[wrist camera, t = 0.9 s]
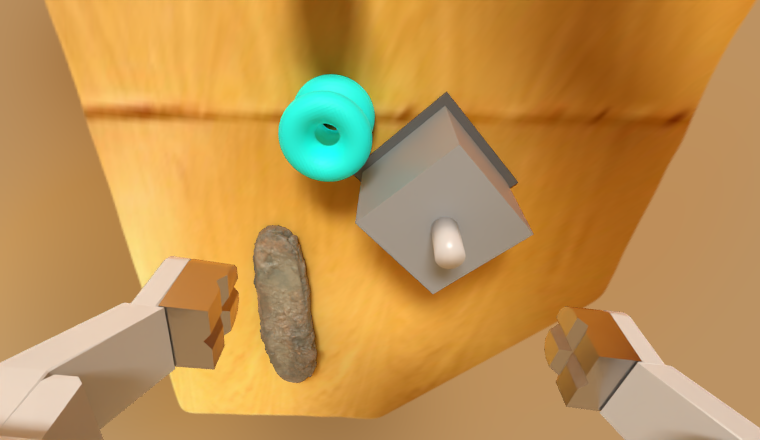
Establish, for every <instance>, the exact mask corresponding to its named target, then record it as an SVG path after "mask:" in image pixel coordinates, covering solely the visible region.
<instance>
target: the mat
mask: <svg viewBox="0 0 760 440" xmlns="http://www.w3.org/2000/svg"><path fill="white" fill-rule="evenodd" d="M444 106H446V107H447V108H448V110H449V111H450V112H451V113H452V115H453V116H454V117H455V118H456V120H457V121H458V122H459V123H460V125H461V126H462V127H463V128H464V130H465V131H466V132H467V133H468V135H469V136H470V137H471V138H472V140H473V141H474V142H475V143H476V145H477V146H478V147H479V148H480V150H481V151H482V152H483V153H484V154H485V156H486V157H487V158H488V159H489V161H490V162H491V163H492V164H493V166H494V167H495V168H496V169H497V171H498V172H499V173H500V174H501V176H502V177H503V178H504V179H505V181H506V182H507V184H508V186H509V188H510V187H512V186H513V185H515V184H517V183H518V182H517V180H516V179H515V178H514V177H513V175H512V174H511V173H510V171H509V170H508V169H507V168H506V166H505V165H504V164H503V163H502V161H501V160H500V159H499V158H498V156H497V155H496V154H495V152H494V151H493V150H492V149H491V147H490V146H489V145H488V144H487V142H486V141H485V140H484V138H483V137H482V136H481V135H480V133H479V132H478V131H477V130H476V128H475V127H474V126H473V124H472V123H471V122H470V121H469V119H468V118H467V117H466V116H465V114H464V113H463V112H462V110H461V109H460V108H459V107H458V105H457V104H456V103H455V102H454V100H453V99H452V98H451V96H450V95H449V94H448V93H447V92H446V93H444V94H443V95H442V96H441V97H440V98H438V99H437V100H436V101H435V102H434V103H432V104H431V105H430V106H429V107H428V108H426V109H425V110H424V111H423V112H421V113H420V114H419V115H418V116H417V117H415V118H414V119H413V120H412V121H411V122H409V123H408V124H407V125H406V126H405V127H403V128H402V129H401V130H400V131H399V132H397V133H396V134H395V135H394V136H392V137H391V138H390V139H389V140H388V141H386V142H385V143H384V144H383V145H382V146H380V147H379V148H378V149H377V150H376V151H374V152H373V153H372V154H371V155H369V157H368V159H367V161H366V162H365V164H364V165H363V166H362V168H361V169H360V170H359V171H357V172H356V173H355V174H353V175H354V176H355V177H356V178H357V179H359V180H360V181H361V179H362V173H363V172H364V171H365V170H366V169H368V168H369V167H370V166H371V165H373V164H374V163H375V162H376V161H377V160H379V159H380V158H381V157H382V156H384V155H385V154H386V153H387V152H389V151H390V150H391V149H392V148H393V147H395V146H396V145H397V144H398V143H400V142H401V141H402V140H403V139H405V138H406V137H407V136H408V135H409V134H411V133H412V132H413V131H414V130H416V129H417V128H418V127H419V126H421V125H422V124H423V123H424V122H425V121H427V120H428V119H429V118H430V117H432V116H433V115H434V114H435V113H437V112H438V111H439V110H440V109H441V108H443V107H444Z"/></svg>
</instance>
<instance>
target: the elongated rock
mask: <svg viewBox="0 0 760 440" xmlns="http://www.w3.org/2000/svg"><path fill="white" fill-rule="evenodd" d="M300 247H301V245H300V244H299V243H298V237H297V236H296V235H293V234H292V232H291V231H289V230H288V229H286V228H285V227H281V226H274V225H271V226H267V227H266V228H264V229H263V230H262V231H261V232H259V235H258V238H257V240H256V243H255V249H254V255H253V262H254V270H255V279H254V285H255V288H256V290H257V294H258V307H259V308H258V312H259V315H260V320H261V323H260V325H261V330H260V332H261V339H262V341H263V342H264V344H265V350H266V353H267V354H268V355H269V358H270V363H272V364H273V367H274V369H275V371H276V372H277V374H278V375H279V376H280V377H281V378H282V379H284V380H286V381H288V382H293V383H295V382H296V383H299V382H302V381H304V380H305V379H306V378H307V377H311V376H312V374H313V372H314V370H315V367H316V364H317V362H316V356H317V350H316V345H315V340H314V338H315V335H314V330H313V328H312V327H313V322H312V316H311V311H310V298H309V295H310V288H309V284H308V278H307V276H306V266H305V259H303V255H302V252H301V248H300Z"/></svg>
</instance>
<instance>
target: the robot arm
mask: <svg viewBox="0 0 760 440" xmlns="http://www.w3.org/2000/svg"><path fill="white" fill-rule="evenodd" d="M237 279H238V274H237V267H236V266H235V265H231V264H225V263H218V262H211V261H204V260H197V259H188V258H181V257H174V256H170V257H168V258H166V259H165V260H164V261H163V263H162V264H161V265H160V267H159V268H158V269H157V270H156V272H155V273H154V274H153V275H152V277H151V278H150V279H149V281H148V282H147V283H146V284H145V286H144V287H143V288H142V290H141V291H140V292H139V293H138V295H137V296H136V297H135V299H134V300H133V301H132V302H131V304H130V303H122V304H120V305H118V306H116V307H114V308H112V309H110V310H108V311H106V312H104V313H102V314H100V315H98V316H96V317H94V318H91V319H90V320H87V321H85V322H83V323H81V324H79V325H77V326H75V327H73V328H71V329H69V330H67V331H65V332H63V333H60V334H58V335H56V336H54V337H52V338H50V339H48V340H46V341H44V342H42V343H40V344H38V345H36V346H34V347H32V348H30V349H28V350H25V351H23V352H22V353H19V354H17V355H15V356H13V357H11V358H9V359H7V360H5V361H3V362H1V363H0V440H103V437H102V434H101V432H100V429H101V428H102V427H104V426H105V425H106V424H107V423H108V422H110V421H111V420H112V419H113V418H115V417H116V416H117V415H118V414H119V413H121V412H122V411H123V410H125V409H126V408H127V407H128V406H130V405H131V404H132V403H133V402H134V401H136V400H137V399H138V398H139V397H141V396H142V395H143V394H144V393H146V392H147V391H148V390H149V389H150V388H152V387H153V386H154V385H155V384H157V383H158V382H159V381H160V380H162V379H163V378H164V377H165V376H167V375H168V374H169V373H170V372H172V371H173V370H174V369H175V366H176V367H189V368H202V369H215V366H216V364H217V362H218V359H219V357H220V355H221V353H222V350H223V348H224V346H225V345H224V335H225V334H227V333H228V332H230V331H231V330H232V327H233V325H234V322H235V319H236V315H237V311H238V303H239V292H238V291H237V290H236V289H235V288H234V285H235V283H236V281H237ZM557 320H558V323H559V324H558V325H556V326H555V327H553V328H551V329H550V330H549V332H548V334H547V336H546V338H545V348H544V350H545V356H546V359H547V362H548V365H549V367H551V369H552V370H554V371H555V372H556V373H557V374H558V377H557V380H556V384H557V386H558V389H559V391H560V393H561V395H562V398H563V400H564V403H565V405H566V407H573V408H581V409H589V410H596V411H601V412H600V414H601V415H602V416H603V417H604V418H605V419H606V420H607V421H608V422H609V423H610V424H611V425H612V427H613V428H615V430H616V431H617V432H618V433H619V434H620V435H621V436H622V437H623V438H624V439H625V440H760V428H759V427H757V426H756V425H754V424H753V423H752V422H750V421H749V420H747V419H746V418H745V417H743V416H742V415H740V414H739V413H737V412H736V411H734V410H733V409H732V408H730V407H729V406H727V405H726V404H725V403H723V402H722V401H720V400H719V399H718V398H716V397H715V396H713V395H712V394H710V393H709V392H708V391H706V390H705V389H703V388H702V387H701V386H699V385H698V384H696V383H695V382H693V381H692V380H691V379H689V378H688V377H686V376H685V375H684V374H682V373H681V372H679V371H678V370H676V369H675V368H673V367H672V366H668V365H665V364H664V363H663V361H662V360H661V359H660V357H659V356H658V354H657V353H656V352H655V350H654V349H653V348H652V346H651V345H650V344H649V342H648V341H647V339H646V338H645V337H644V336H643V334H642V333H641V331H640V330H639V328H638V327H637V326H636V324H635V323H634V321H633V320H632V319H631V317H630V316H629V315H627V314H626V313H624V312H616V311H607V310H604V311H602V310H594V309H586V308H577V307H569V306H565V307H564V308H562V309H561V310H560V312H559V313H558V315H557Z"/></svg>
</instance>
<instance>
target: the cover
mask: <svg viewBox="0 0 760 440" xmlns="http://www.w3.org/2000/svg"><path fill="white" fill-rule="evenodd" d="M355 223H356V224H357V225H358V226H359V227H360V228H361V229H362V230H363V231H364V232H366V233H367V234H368V235H369V236H370V237H371V238H372V239H373V240H374V241H375V242H376V243H378V244H379V245H380V246H381V247H382V248H383V249H384V250H385V251H386V252H387V253H388V254H390V255H391V256H392V257H393V258H394V259H395V260H396V261H397V262H398V263H399V264H400V265H402V266H403V267H404V268H405V269H406V270H407V271H408V272H409V273H410V274H411V275H412V276H414V277H415V278H416V279H417V280H418V281H419V282H420V283H421V284H422V285H423V286H424V287H426V288H427V289H428V290H429V291H430V292H431V293H432V294H434V293H436V292H438V291H439V290H441V289H443V288H444V287H446V286H448V285H449V284H451V283H453V282H454V281H456V280H458V279H459V278H461V277H463V276H464V275H466V274H468V273H469V272H471V271H473V270H474V269H476V268H478V267H479V266H481V265H483V264H484V263H486V262H488V261H490V260H491V259H493V258H495V257H496V256H498V255H500V254H501V253H503V252H505V251H506V250H508V249H510V248H511V247H513V246H515V245H516V244H518V243H520V242H521V241H523V240H525V239H526V238H528V237H530V236H531V235H533V232H532V230H531V228H530V226H529V224H528V222H527V220H526V219H525V217H524V215H523V213H522V211H521V209H520V207H519V205H518V203H517V201H516V199H515V197H514V195H513V193H512V192H511V190H510V188H509V186H508V184H507V182H506V181H505V179H504V178H503V177H502V176H501V174H500V173H499V172H498V171H497V169H496V168H495V167H494V166H493V164H492V163H491V162H490V161H489V159H488V158H487V157H486V156H485V154H484V153H483V152H482V151H481V150H480V148H479V147H478V146H477V145H476V143H475V142H474V141H473V140H472V138H471V137H470V136H469V135H468V133H467V132H466V131H465V130H464V128H463V127H462V126H461V125H460V123H459V122H458V121H457V120H456V118H455V117H454V116H453V115H452V113H451V112H450V111H449V110H448V108H447V107H446V106H444V107H443V108H441V109H440V110H439V111H438V112H437V113H435V114H434V115H433V116H432V117H430V118H429V119H428V120H427V121H425V122H424V123H423V124H422V125H421V126H419V127H418V128H417V129H416V130H414V131H413V132H412V133H411V134H409V135H408V136H407V137H406V138H405V139H403V140H402V141H401V142H400V143H398V144H397V145H396V146H395V147H393V148H392V149H391V150H390V151H389V152H387V153H386V154H385V155H384V156H382V157H381V158H380V159H379V160H377V161H376V162H375V163H374V164H373V165H371V166H370V167H369V168H368V169H366V170H365V171H364V172H363V173H362V179H361V186H360V193H359V200H358V207H357V214H356V221H355Z"/></svg>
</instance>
